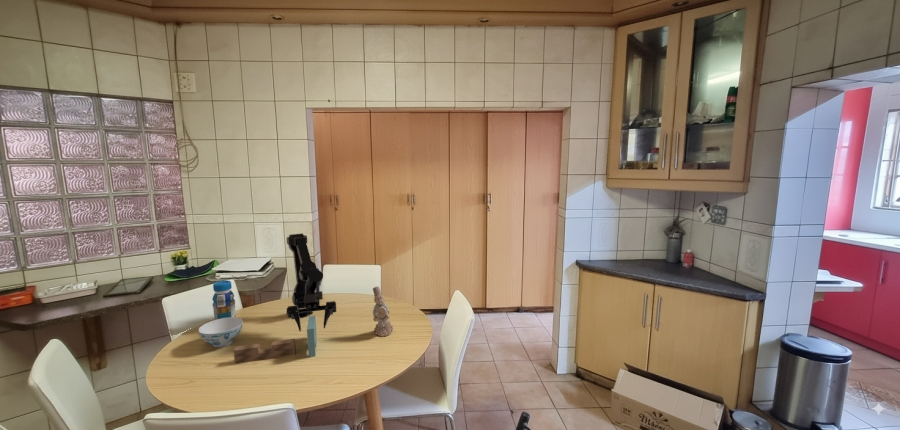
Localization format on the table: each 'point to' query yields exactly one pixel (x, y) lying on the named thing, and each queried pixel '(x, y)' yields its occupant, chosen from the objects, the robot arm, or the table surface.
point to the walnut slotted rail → (264, 351)
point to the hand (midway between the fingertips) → (312, 329)
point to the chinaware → (221, 331)
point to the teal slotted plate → (311, 336)
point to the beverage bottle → (223, 300)
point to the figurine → (381, 314)
